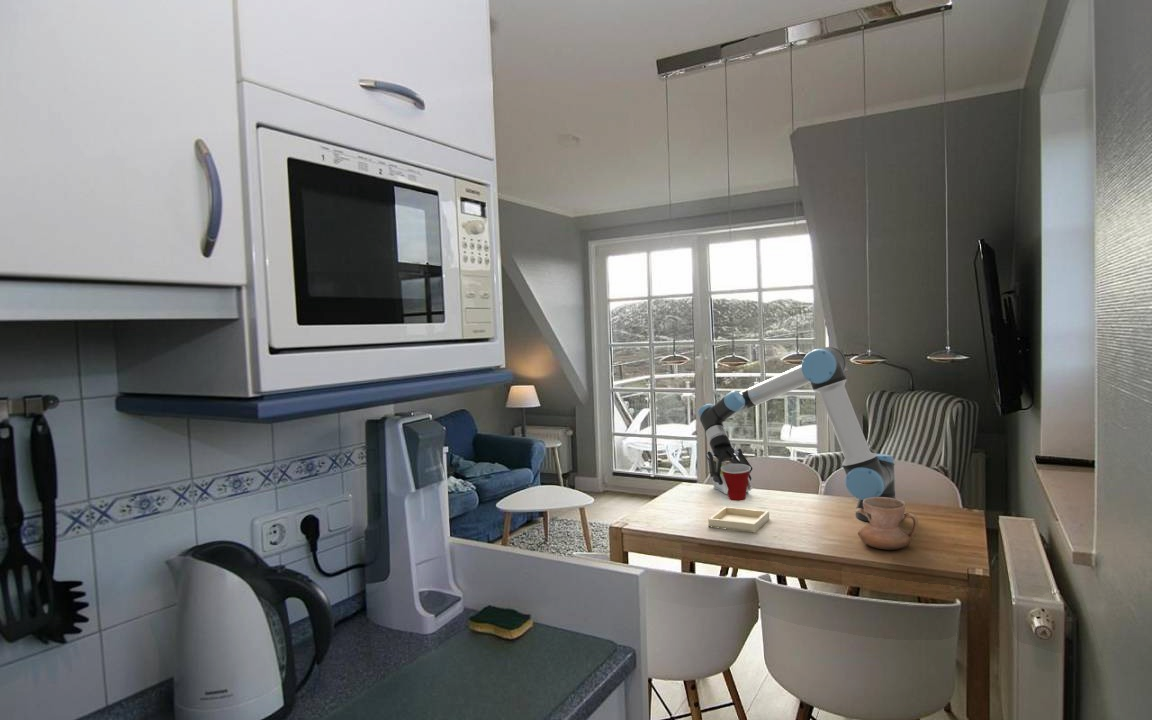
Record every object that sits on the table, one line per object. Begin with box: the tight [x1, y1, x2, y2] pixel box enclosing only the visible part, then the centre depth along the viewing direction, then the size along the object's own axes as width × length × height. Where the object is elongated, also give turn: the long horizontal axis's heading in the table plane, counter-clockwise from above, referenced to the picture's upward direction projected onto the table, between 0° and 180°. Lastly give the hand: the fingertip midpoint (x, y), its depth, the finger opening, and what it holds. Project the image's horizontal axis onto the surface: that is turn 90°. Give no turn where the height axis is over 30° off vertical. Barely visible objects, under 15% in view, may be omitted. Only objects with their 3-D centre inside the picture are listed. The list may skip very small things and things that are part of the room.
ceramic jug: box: [854, 497, 919, 551], centre depth 203 cm, size 18×14×14 cm
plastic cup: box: [721, 464, 752, 502], centre depth 235 cm, size 11×11×12 cm
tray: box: [707, 506, 770, 534], centre depth 235 cm, size 17×17×3 cm
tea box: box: [712, 455, 750, 495], centre depth 281 cm, size 15×10×15 cm, turn 13°
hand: (738, 490), depth 233 cm, fingers closed on plastic cup, 9 cm apart
